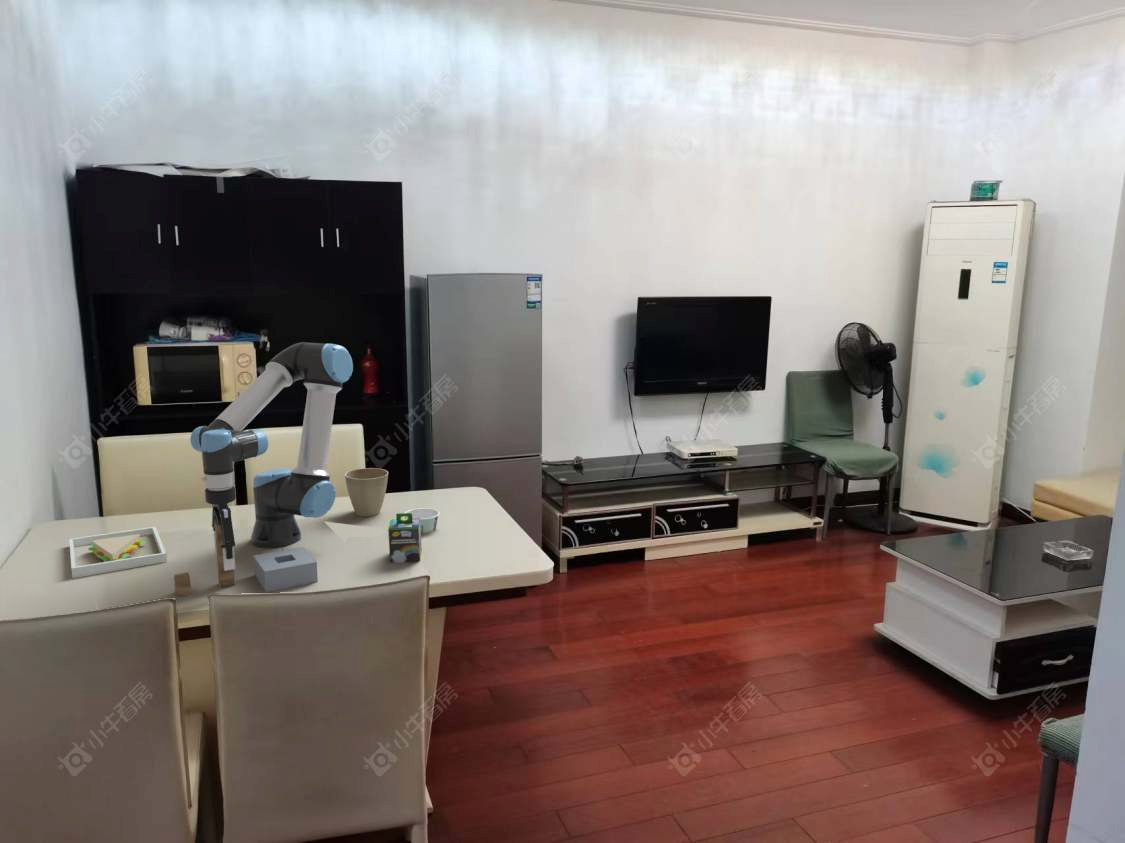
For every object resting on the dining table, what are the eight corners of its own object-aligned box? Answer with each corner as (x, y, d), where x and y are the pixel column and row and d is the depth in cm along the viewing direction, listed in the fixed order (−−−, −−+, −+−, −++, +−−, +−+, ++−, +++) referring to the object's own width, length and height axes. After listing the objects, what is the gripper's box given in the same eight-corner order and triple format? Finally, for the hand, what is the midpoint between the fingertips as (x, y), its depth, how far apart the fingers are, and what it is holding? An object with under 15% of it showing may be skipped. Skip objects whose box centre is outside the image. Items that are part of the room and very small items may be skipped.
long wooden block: (218, 583, 220) (214, 521, 217) (232, 581, 222) (228, 519, 219) (221, 588, 217) (216, 525, 214) (234, 585, 219) (230, 523, 216)
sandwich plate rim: (70, 548, 247) (69, 538, 246) (156, 535, 259) (155, 526, 259) (72, 578, 223) (71, 568, 222) (167, 562, 235) (166, 553, 235)
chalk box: (421, 553, 246) (420, 507, 244) (420, 563, 237) (419, 516, 235) (391, 554, 245) (390, 508, 242) (389, 564, 236) (387, 517, 233)
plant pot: (338, 520, 277) (336, 476, 274) (360, 508, 291) (359, 466, 288) (376, 525, 272) (374, 480, 269) (397, 512, 286) (395, 470, 283)
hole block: (254, 575, 226) (253, 555, 225) (304, 566, 234) (303, 547, 233) (265, 592, 215) (264, 571, 214) (317, 582, 222) (316, 561, 221)
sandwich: (72, 574, 227) (70, 558, 226) (93, 551, 245) (92, 536, 244) (131, 570, 230) (130, 554, 229) (148, 547, 249) (146, 532, 248)
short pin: (175, 592, 214) (173, 574, 214) (189, 589, 216) (188, 572, 215) (177, 596, 212) (175, 579, 211) (191, 593, 213) (189, 576, 212)
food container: (443, 527, 271) (443, 508, 270) (434, 538, 260) (434, 519, 258) (409, 525, 273) (409, 507, 271) (399, 537, 261) (398, 518, 260)
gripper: (197, 478, 223) (203, 550, 227) (212, 500, 202) (218, 579, 206) (226, 475, 227) (231, 545, 231) (243, 496, 206) (248, 573, 210)
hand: (225, 561), depth 219 cm, fingers open, 13 cm apart
